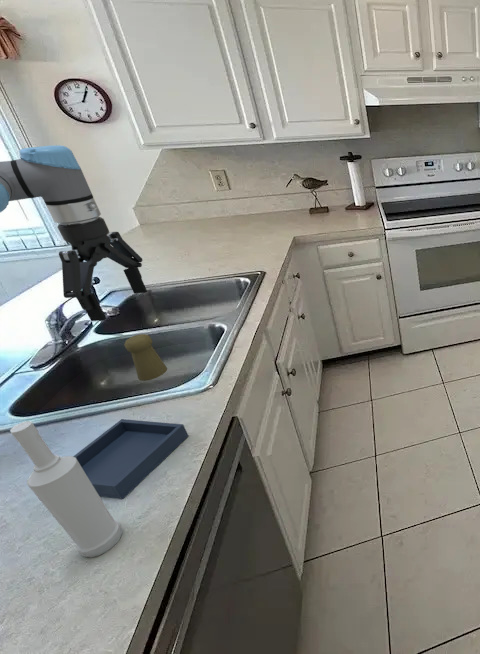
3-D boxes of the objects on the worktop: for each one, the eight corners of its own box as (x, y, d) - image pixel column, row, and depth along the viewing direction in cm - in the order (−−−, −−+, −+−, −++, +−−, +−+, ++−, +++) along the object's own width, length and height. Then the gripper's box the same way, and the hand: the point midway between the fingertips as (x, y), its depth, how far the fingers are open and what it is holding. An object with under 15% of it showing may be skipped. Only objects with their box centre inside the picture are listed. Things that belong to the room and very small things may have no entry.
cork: (137, 372, 106) (119, 336, 102) (166, 363, 110) (150, 328, 105) (138, 384, 102) (119, 347, 97) (168, 373, 105) (151, 337, 101)
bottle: (78, 566, 63) (-14, 448, 52) (84, 539, 67) (-1, 424, 56) (122, 545, 66) (43, 429, 55) (124, 520, 69) (51, 407, 59)
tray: (53, 491, 75) (44, 478, 74) (128, 430, 88) (121, 418, 87) (122, 499, 73) (114, 486, 72) (188, 435, 86) (183, 424, 85)
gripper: (47, 238, 78) (97, 332, 88) (138, 204, 101) (170, 281, 110) (4, 240, 78) (59, 334, 87) (105, 206, 100) (140, 283, 109)
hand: (121, 305), depth 99 cm, fingers open, 13 cm apart
